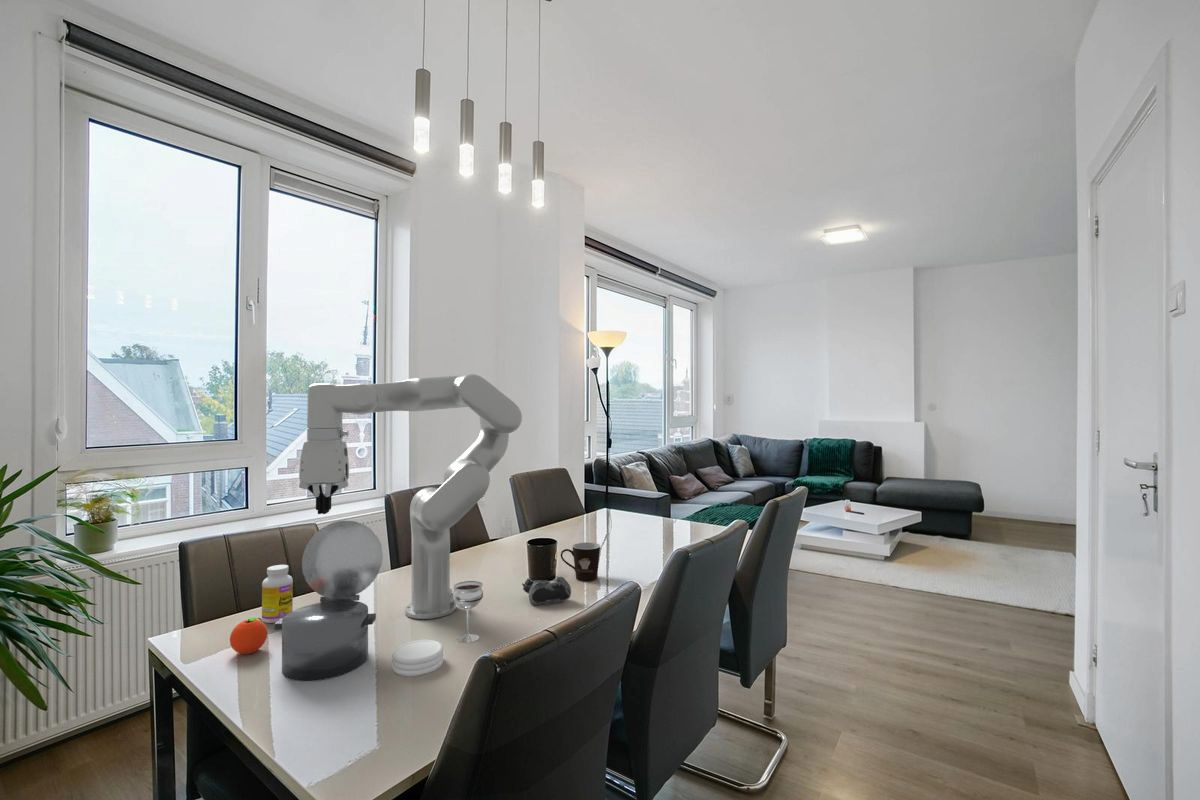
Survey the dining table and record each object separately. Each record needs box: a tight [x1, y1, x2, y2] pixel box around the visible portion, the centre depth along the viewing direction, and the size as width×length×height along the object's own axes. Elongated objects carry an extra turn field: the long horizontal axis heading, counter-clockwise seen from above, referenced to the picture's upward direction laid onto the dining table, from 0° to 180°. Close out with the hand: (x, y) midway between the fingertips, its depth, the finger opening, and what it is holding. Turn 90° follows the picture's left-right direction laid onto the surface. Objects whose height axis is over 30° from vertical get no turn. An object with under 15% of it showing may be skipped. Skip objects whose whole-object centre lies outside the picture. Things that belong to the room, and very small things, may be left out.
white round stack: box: [391, 639, 444, 677], centre depth 115 cm, size 10×10×4 cm
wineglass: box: [452, 580, 484, 644], centre depth 129 cm, size 7×7×12 cm
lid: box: [301, 520, 384, 603], centre depth 128 cm, size 18×17×2 cm
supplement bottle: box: [261, 564, 294, 624], centre depth 140 cm, size 7×7×13 cm
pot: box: [274, 600, 377, 682], centre depth 117 cm, size 19×16×10 cm
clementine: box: [229, 617, 268, 655], centre depth 122 cm, size 8×7×7 cm
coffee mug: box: [560, 541, 601, 583], centre depth 174 cm, size 12×9×10 cm
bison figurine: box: [521, 576, 572, 606], centre depth 154 cm, size 12×7×10 cm
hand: (323, 512), depth 134 cm, fingers closed
